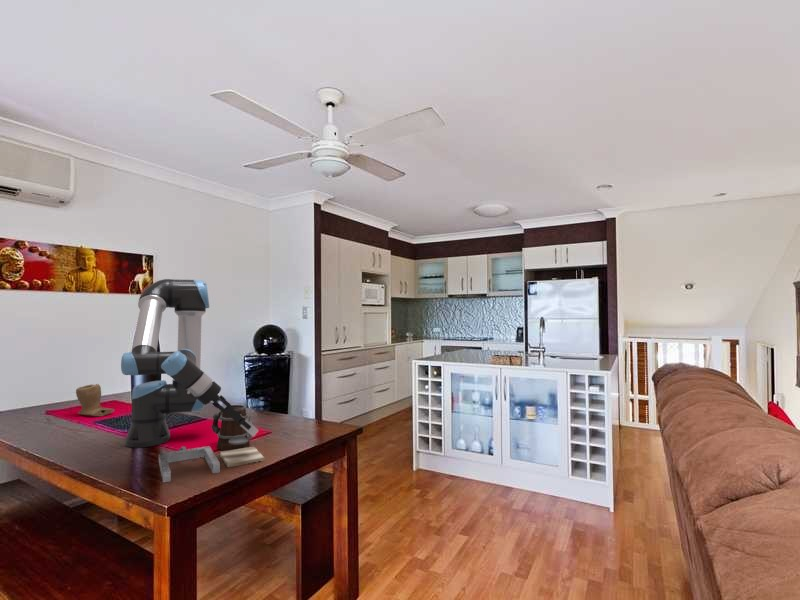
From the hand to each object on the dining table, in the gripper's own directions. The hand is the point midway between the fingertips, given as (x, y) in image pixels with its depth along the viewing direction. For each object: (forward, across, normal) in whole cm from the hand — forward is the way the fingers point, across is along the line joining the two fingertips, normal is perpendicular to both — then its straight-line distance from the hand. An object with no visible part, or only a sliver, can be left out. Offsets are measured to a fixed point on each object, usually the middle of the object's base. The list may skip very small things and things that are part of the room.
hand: (253, 430), depth 151 cm
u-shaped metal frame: (-8, -5, -21) cm, 23 cm away
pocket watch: (0, 0, -5) cm, 5 cm away
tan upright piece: (-30, -102, -43) cm, 114 cm away
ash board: (+4, -2, -9) cm, 10 cm away
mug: (+4, -19, -10) cm, 21 cm away
